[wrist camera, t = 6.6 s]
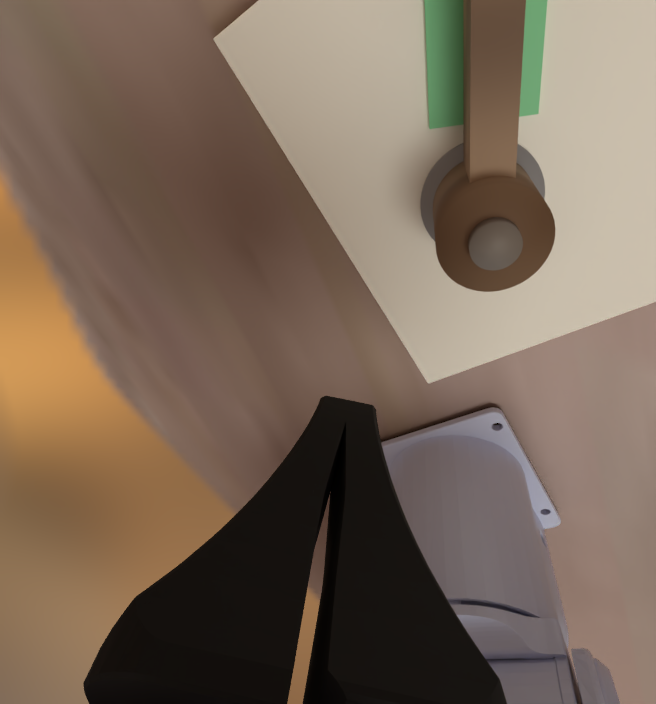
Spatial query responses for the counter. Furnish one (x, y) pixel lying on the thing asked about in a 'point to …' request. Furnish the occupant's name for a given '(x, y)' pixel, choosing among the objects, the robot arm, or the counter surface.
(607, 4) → the dial board
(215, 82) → the counter surface
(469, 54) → the wooden crank handle
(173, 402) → the counter surface
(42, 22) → the counter surface
